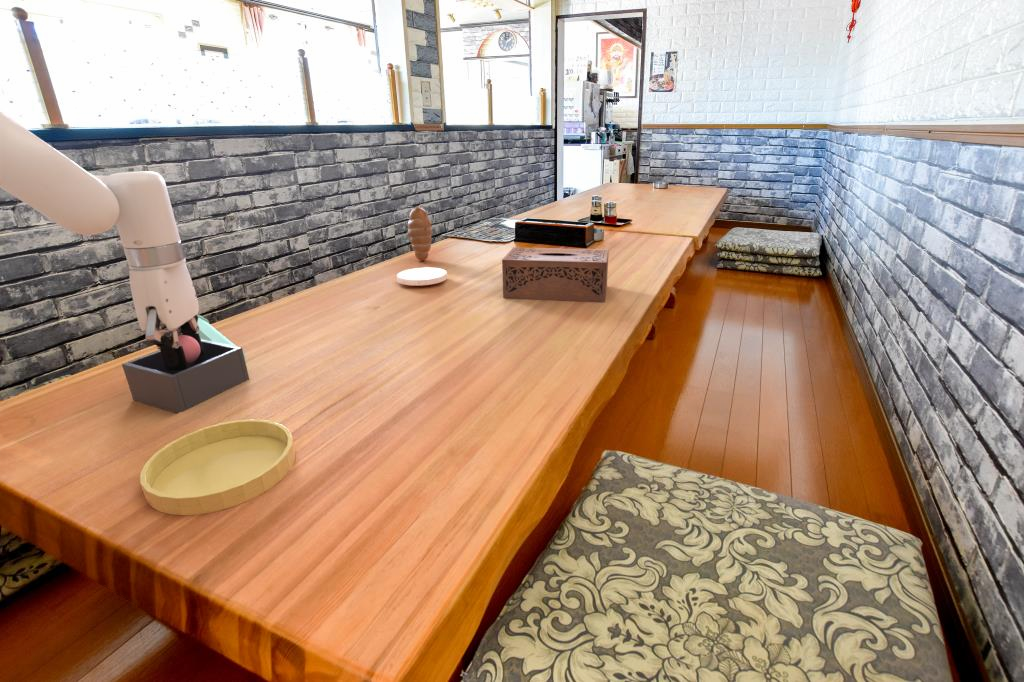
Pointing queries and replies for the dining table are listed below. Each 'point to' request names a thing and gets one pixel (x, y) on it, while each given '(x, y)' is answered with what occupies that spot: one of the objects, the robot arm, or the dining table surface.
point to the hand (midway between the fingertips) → (185, 361)
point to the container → (211, 333)
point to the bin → (186, 377)
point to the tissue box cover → (555, 274)
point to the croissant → (420, 232)
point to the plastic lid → (421, 276)
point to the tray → (217, 467)
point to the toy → (189, 348)
